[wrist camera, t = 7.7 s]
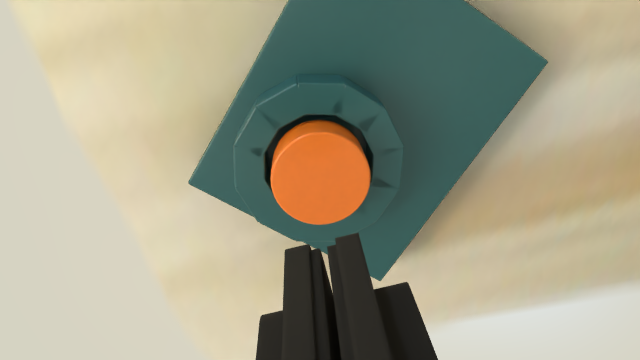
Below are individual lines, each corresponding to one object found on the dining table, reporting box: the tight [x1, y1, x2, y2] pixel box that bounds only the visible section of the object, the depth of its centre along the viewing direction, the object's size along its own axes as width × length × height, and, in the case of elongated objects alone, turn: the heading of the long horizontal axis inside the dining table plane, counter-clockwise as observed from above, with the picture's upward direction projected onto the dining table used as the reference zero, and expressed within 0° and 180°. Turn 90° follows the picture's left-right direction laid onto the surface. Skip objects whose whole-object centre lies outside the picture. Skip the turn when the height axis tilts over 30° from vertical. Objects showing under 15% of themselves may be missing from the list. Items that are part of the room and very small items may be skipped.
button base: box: [189, 0, 548, 281], centre depth 20 cm, size 12×10×4 cm
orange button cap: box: [271, 120, 371, 225], centre depth 18 cm, size 4×4×2 cm
